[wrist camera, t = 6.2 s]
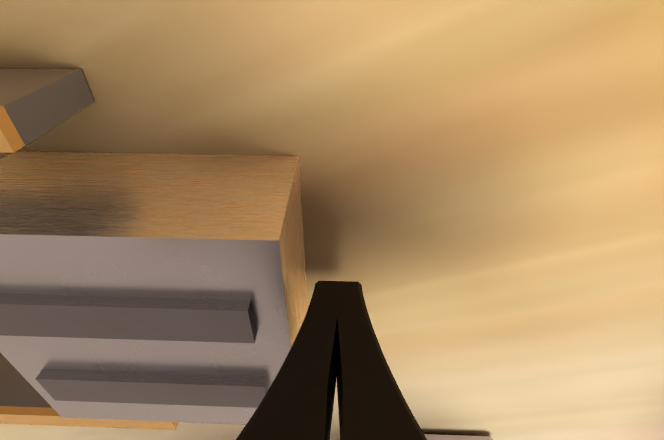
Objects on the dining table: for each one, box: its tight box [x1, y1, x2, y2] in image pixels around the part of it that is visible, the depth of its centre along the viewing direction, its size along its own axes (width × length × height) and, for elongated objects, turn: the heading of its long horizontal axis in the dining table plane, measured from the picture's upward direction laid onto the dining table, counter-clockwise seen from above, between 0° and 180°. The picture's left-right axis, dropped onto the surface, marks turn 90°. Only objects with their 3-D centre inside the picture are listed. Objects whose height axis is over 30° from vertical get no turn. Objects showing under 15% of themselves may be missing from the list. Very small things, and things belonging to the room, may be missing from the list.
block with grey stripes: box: [0, 151, 308, 425], centre depth 11 cm, size 8×8×4 cm
